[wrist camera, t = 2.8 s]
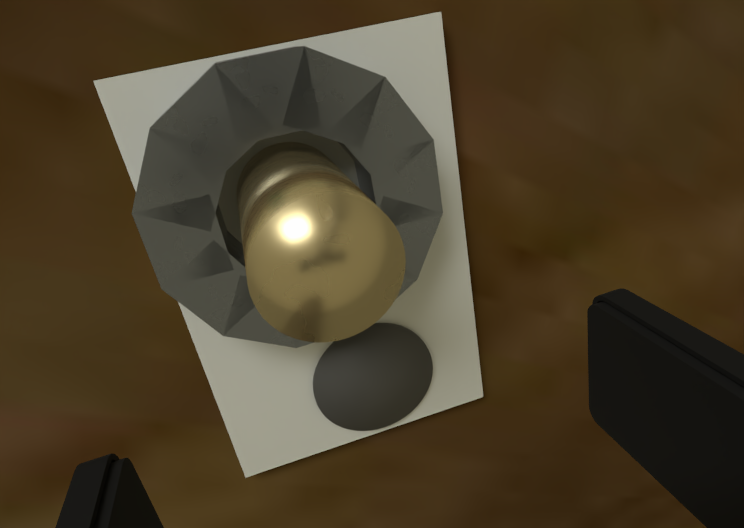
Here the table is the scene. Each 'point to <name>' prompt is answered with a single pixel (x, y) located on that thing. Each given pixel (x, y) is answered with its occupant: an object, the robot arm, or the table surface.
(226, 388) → the base plate
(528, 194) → the table surface
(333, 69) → the ring
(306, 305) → the brass round-ended cylinder
